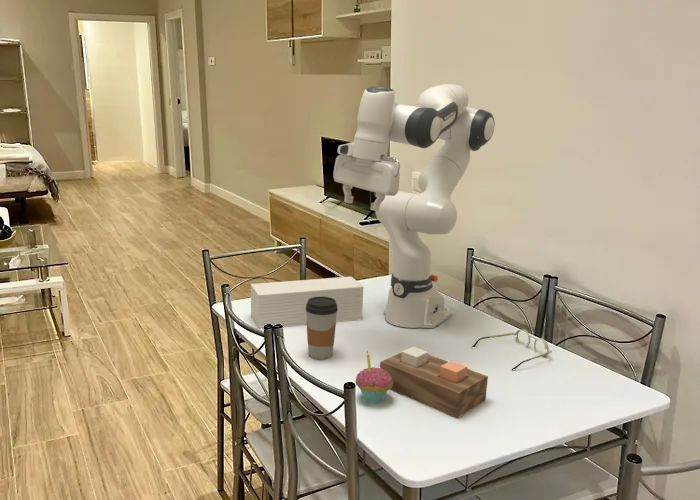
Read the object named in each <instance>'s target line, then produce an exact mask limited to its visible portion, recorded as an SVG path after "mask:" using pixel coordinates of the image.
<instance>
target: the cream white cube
mask: <svg viewBox="0 0 700 500" xmlns="http://www.w3.org/2000/svg"><path fill="white" fill-rule="evenodd" d="M401 352H402V360H401V362H402V363H404V364H407V365H410V366H412V367H415V368H418V367H420V366H422V365H424V364H426V363H427V359H428V354H429V352H428V351H426V350H423V349H421V348H418V347H415V346H411V347H409V348H407V349H405V350H402V351H401Z"/></svg>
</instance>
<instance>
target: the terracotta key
mask: <svg viewBox="0 0 700 500" xmlns="http://www.w3.org/2000/svg"><path fill="white" fill-rule="evenodd" d="M467 369H468V366H466V365H464V364H461V363H459V362H456V361H453V360H450V361H448V363H446V364H444V365H442V366H440V376H439V377H440V378H443V379H445V380H448V381H450V382H453V383H455V384H457V383H459V382H460V381H462V380H464V379H466V377H467Z"/></svg>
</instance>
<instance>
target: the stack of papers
mask: <svg viewBox="0 0 700 500" xmlns="http://www.w3.org/2000/svg"><path fill="white" fill-rule="evenodd" d="M364 289H365V288H364V286H363V285H362V284H361V283H360V282H358V281H357V280H356V279H355V278H354V277H352V276H342V277H341V276H339V277H328V278H327V277H326V278H316V279H315V278H314V279H302V280H300V279H299V280H298V279H297V280H288V281H287V280H285V281H275V282H261V283H250V318H251V320H252V319H253V320H252V321H253V323H254V325H255V324H256V325H255V326H256V328H257V329H261V328H262V330H264V329H263V326H264V325H265V324H272V325H275V324H282V325H283V326H284V327H283V328H289V327H302V325H303V326H307V314H306V304H307V303H308V300H309V299H310V298H313V297H330V298H333V299H334V300H335V301H336V304H337V309H338V310H337V314H336V323H339V322H340V323H342V322H351V321H361V320H363V308H364V307H363V306H364Z"/></svg>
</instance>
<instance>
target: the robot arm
mask: <svg viewBox="0 0 700 500" xmlns="http://www.w3.org/2000/svg"><path fill="white" fill-rule="evenodd" d="M468 104H469V94H468V92H467V91H466V89H464V87H463V86H461V85H459V84H455V83H442V84H439V85H438V84H437V85H434V86H431V87H428V88H427V89H425V90H424V91H423V92H422V93H421V94H420V95H419V96H418V98H417V101H416V106H415V105H414V106H413V105H409V104H401V103H399V102H398V100H397V99H396V92H395V89H393V88H391V87H386V86H368V87H367V88H365V89H364V91H363V93H362V96H361V99H360V102H359V106H358V107H359V108H358V111H357V119H356V123H357V128H356V132H355V133H354V134H355V135H354V138H353V142H352V141H351V142H348V143H345V144H340V145H338V147H337V154H338V155H337V156H336V158H335V163H334V167H333V176H332V177H333V180H334V182H336V183H339V184H341V185H342V190H343V194H344V199H343V201H344V203H347V204H353V202H354V196H353V195H352V191H351V190H352V189H353V187H354V188H356V189H357V188H358V189H361V190H365V191H369V192H371V193H375V198H376V199H375V200H374V202H371V203H370V210H371V211H374V212H375V217H376V218H377V220H378V221H379V222H380V223H381V224H382V225H383V227H384V228H385V230H386V232H387V233H388V236H389V238H390V242H391V244H392V251H393V254H392V255H393V257H392V258H393V260H392V261H393V264H392V265H393V268H392V274H391V275H390V276H391V277H390V286H391V287H390V288H389V290H388V294H387V302H386V308H384V310H383V313H384V315H385V318H384V319H385V321H386V322H387V323H389V324H391V325H394V326H397V327H403V328H409V329H411V328H412V329H414V328H417V329H418V328H421V329H422V328H424V329H435V328H436V327H438V326H439V325H440V324H441V323H443V322H444V321H446V320H447V319H448V318H450V317H451V316H452V314H453V313H452V310H450V309H448V308H446V307H445V305H446V304H445V303H446V302H445V298H444V297H445V296H444V295H443V294H442V293H441V292H440V291H438V290H437V289H435V287H434V286H433V283H437V282H438V279H439V277H438V275H434V274H431V262H432V252H431V250H430V248H429V246H427V245H426V244H425V242H423V241H422V240H421V238H420V236H419V233H421V234H425V235H446V234H449V233H450V232H452V230H453V229H454V227H455V226H456V224H457V220H458V213H457V208H456V206H455V204H454V203H453V202H452V201H451V196H452V193H453V192H454V190H455V189H456V186H457V185H458V183H459V182H460V180H461V179H462V177H463V176H464V173H465V172H466V171H467V168H468V166H469V163H470V160H471V151H472V152H476V151H479V150H480V149H481V147H484V146H485V145H486V144H487V143H489V141H490V140H491V139H492V137H493V134H494V131H495V125H496V124H495V118H494V115H493V114H492V113H491V112H490V111H488V110H484V109H482V108H481V109H477V108H474V107H470V106H468ZM437 140H443V141H445V142H444V145H443V146H441V147H440V148H439V149H438V150H437V151H436V152H435V153H434V154H433V155H432V157H431V159H430V160H429V161H428V162H427V164H425V167H424V168H423V169H422V170H421V172H420V174H419V175H418V180H417V183H418V184H417V185H418V187H419V189H420V191H421V193H415V192H408V191H401V190H399V187H400V178H401V177H400V171H401V170H400V169H401V164H400V162H399V160H398V159H397V157H393V156H392V157H391V156H389V155H388V152H389V146H390V142H393V143H399V144H404V145H405V144H406V145H411V146H413V147H417V148H421V149H427V148H429V147H431V146H433V144H435V143H436V141H437Z"/></svg>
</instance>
